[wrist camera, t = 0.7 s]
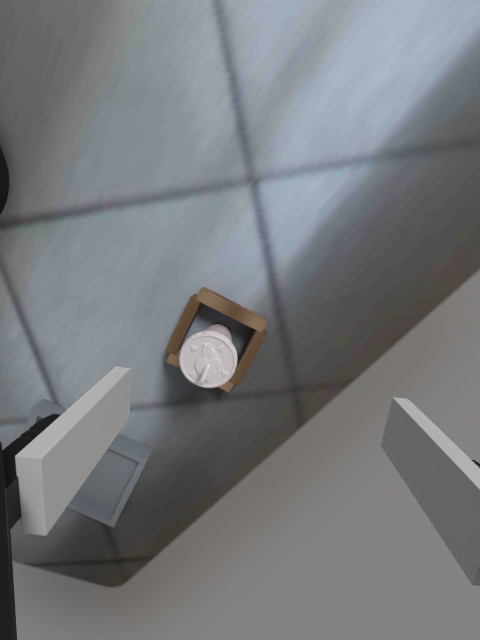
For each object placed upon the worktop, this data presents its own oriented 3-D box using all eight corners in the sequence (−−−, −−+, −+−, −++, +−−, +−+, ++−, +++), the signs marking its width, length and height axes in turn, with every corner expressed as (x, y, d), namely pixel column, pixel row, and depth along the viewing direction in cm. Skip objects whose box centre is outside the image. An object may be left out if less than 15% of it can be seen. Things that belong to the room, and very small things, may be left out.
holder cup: (167, 352, 43) (161, 359, 40) (199, 284, 40) (195, 287, 38) (235, 385, 44) (233, 394, 41) (270, 320, 41) (271, 326, 38)
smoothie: (196, 358, 43) (169, 408, 29) (194, 314, 41) (164, 345, 28) (241, 358, 43) (235, 409, 29) (240, 314, 41) (233, 345, 28)
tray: (17, 469, 49) (5, 480, 46) (44, 399, 45) (33, 407, 43) (120, 514, 50) (113, 527, 47) (153, 449, 47) (147, 459, 44)
